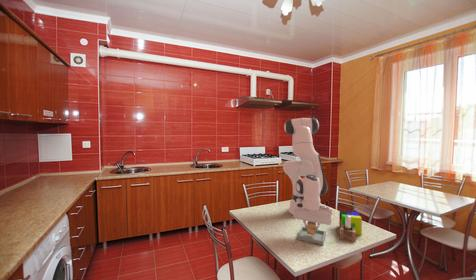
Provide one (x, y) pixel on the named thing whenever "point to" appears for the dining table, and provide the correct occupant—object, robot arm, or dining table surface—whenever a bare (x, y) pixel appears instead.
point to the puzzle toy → (352, 220)
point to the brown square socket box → (348, 233)
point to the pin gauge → (348, 222)
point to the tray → (312, 236)
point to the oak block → (311, 228)
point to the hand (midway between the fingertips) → (311, 228)
